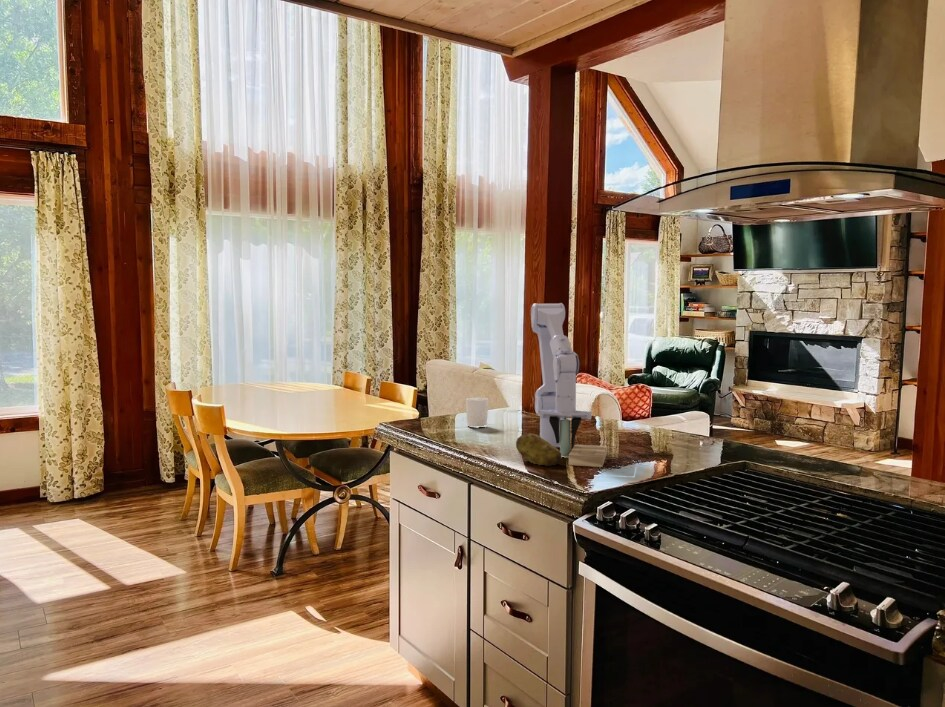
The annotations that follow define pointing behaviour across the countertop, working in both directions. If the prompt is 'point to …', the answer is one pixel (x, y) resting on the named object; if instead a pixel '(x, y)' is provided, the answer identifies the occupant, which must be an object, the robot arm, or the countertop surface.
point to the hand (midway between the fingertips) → (565, 443)
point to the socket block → (587, 455)
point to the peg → (565, 437)
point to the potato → (538, 450)
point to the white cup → (477, 411)
